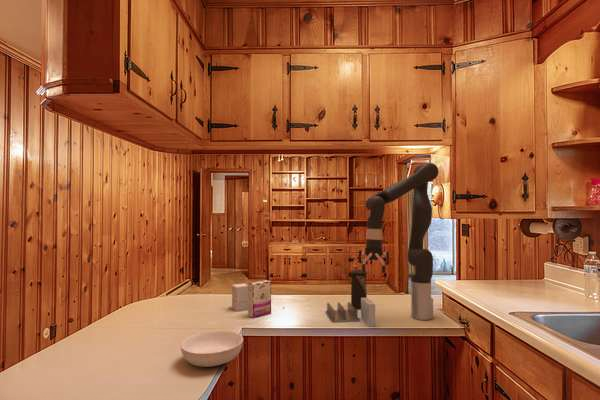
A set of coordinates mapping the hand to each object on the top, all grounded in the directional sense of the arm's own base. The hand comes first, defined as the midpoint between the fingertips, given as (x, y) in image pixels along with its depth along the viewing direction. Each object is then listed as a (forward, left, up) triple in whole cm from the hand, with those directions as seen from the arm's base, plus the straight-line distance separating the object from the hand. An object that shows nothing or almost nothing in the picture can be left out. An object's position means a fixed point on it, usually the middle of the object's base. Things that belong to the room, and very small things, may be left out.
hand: (373, 272), depth 162 cm
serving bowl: (+69, +34, -23) cm, 81 cm away
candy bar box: (+53, -16, -23) cm, 60 cm away
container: (0, -23, -23) cm, 33 cm away
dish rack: (+13, -8, -23) cm, 27 cm away
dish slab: (+3, +2, -23) cm, 23 cm away
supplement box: (+63, -28, -23) cm, 73 cm away
